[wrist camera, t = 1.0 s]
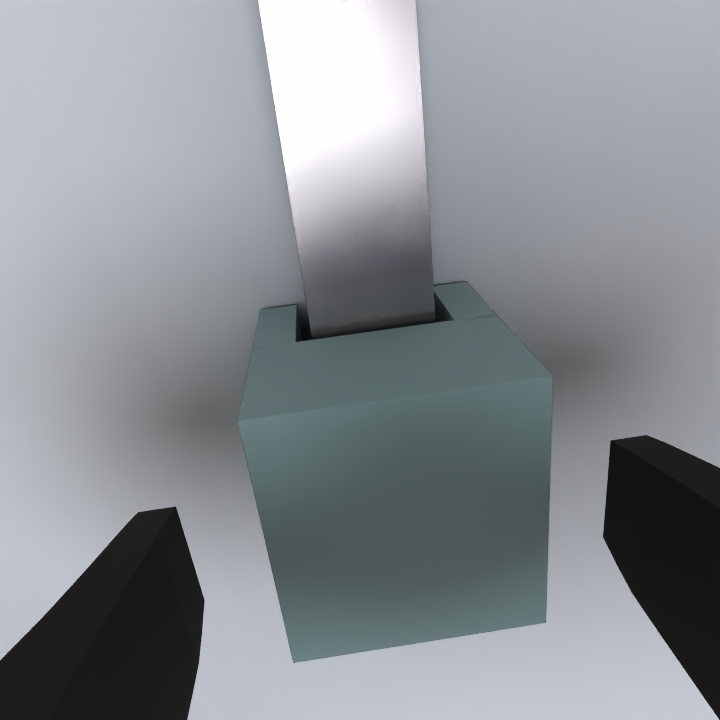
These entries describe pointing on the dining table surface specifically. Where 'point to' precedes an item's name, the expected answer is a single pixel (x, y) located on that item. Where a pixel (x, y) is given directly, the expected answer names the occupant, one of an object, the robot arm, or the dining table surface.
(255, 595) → the dining table surface
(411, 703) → the dining table surface
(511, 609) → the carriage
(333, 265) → the rail
